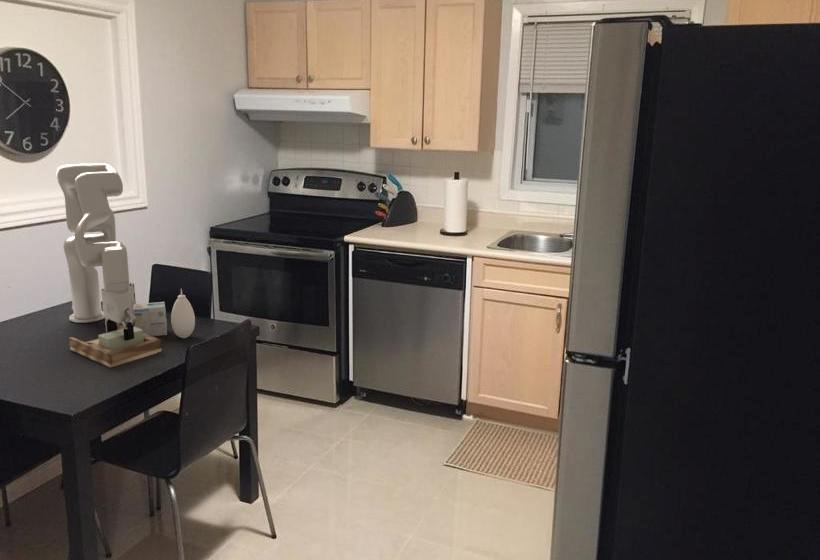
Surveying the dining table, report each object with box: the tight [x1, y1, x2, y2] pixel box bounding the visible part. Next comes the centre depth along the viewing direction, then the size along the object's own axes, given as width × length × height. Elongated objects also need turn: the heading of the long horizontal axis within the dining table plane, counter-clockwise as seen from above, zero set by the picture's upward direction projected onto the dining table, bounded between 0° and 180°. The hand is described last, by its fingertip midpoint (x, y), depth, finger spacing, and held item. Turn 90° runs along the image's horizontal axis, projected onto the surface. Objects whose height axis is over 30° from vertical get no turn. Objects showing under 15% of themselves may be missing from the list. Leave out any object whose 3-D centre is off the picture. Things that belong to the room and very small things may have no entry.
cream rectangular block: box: [97, 327, 144, 351], centre depth 213 cm, size 6×12×6 cm, turn 143°
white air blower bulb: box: [170, 288, 196, 339], centre depth 228 cm, size 8×8×18 cm
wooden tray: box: [68, 325, 163, 368], centre depth 216 cm, size 24×18×4 cm
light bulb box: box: [133, 301, 168, 337], centre depth 232 cm, size 11×7×11 cm, turn 111°
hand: (120, 335), depth 213 cm, fingers open, 9 cm apart
